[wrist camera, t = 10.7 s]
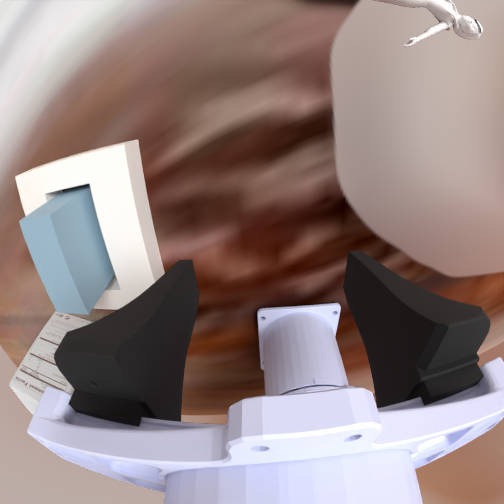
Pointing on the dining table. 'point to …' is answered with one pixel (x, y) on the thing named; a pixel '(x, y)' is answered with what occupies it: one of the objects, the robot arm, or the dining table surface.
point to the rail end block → (69, 250)
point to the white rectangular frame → (107, 212)
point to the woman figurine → (443, 19)
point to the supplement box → (44, 361)
